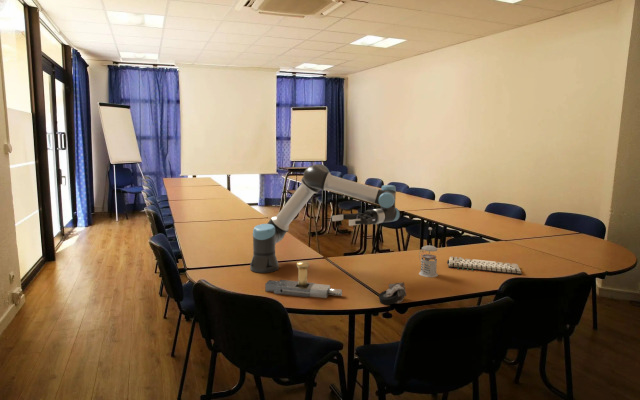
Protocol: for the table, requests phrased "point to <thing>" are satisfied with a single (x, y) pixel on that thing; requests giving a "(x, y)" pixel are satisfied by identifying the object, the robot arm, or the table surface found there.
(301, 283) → the clevis pin
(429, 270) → the french press
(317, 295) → the clevis
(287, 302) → the table surface
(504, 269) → the mechanical keyboard
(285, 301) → the table surface
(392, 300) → the caster wheel
